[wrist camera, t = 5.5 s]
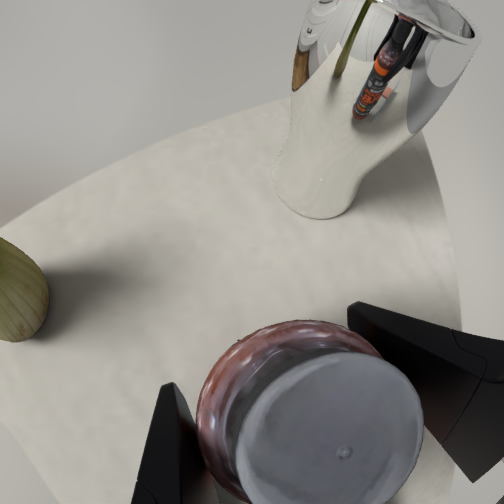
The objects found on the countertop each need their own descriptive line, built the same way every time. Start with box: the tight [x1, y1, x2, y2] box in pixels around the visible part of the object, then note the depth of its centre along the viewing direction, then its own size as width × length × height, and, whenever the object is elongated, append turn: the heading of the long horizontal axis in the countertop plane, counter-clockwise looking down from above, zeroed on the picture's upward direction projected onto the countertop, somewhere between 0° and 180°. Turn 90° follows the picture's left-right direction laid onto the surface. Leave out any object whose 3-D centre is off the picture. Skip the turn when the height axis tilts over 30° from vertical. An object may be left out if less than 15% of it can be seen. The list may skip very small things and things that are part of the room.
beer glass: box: [272, 0, 482, 219], centre depth 14 cm, size 7×7×15 cm
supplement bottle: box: [196, 320, 424, 504], centre depth 10 cm, size 6×6×11 cm
